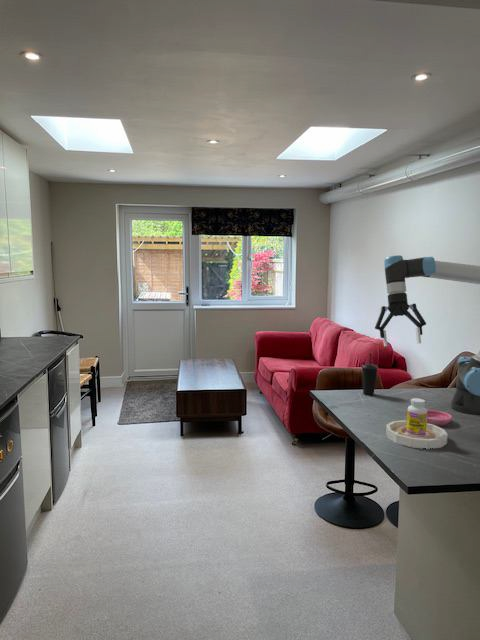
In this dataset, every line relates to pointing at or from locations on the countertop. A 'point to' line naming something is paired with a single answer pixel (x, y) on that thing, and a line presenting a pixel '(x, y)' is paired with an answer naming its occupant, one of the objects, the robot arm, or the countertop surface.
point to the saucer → (438, 418)
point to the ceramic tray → (432, 439)
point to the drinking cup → (369, 377)
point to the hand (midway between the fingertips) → (402, 344)
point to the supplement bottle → (416, 418)
